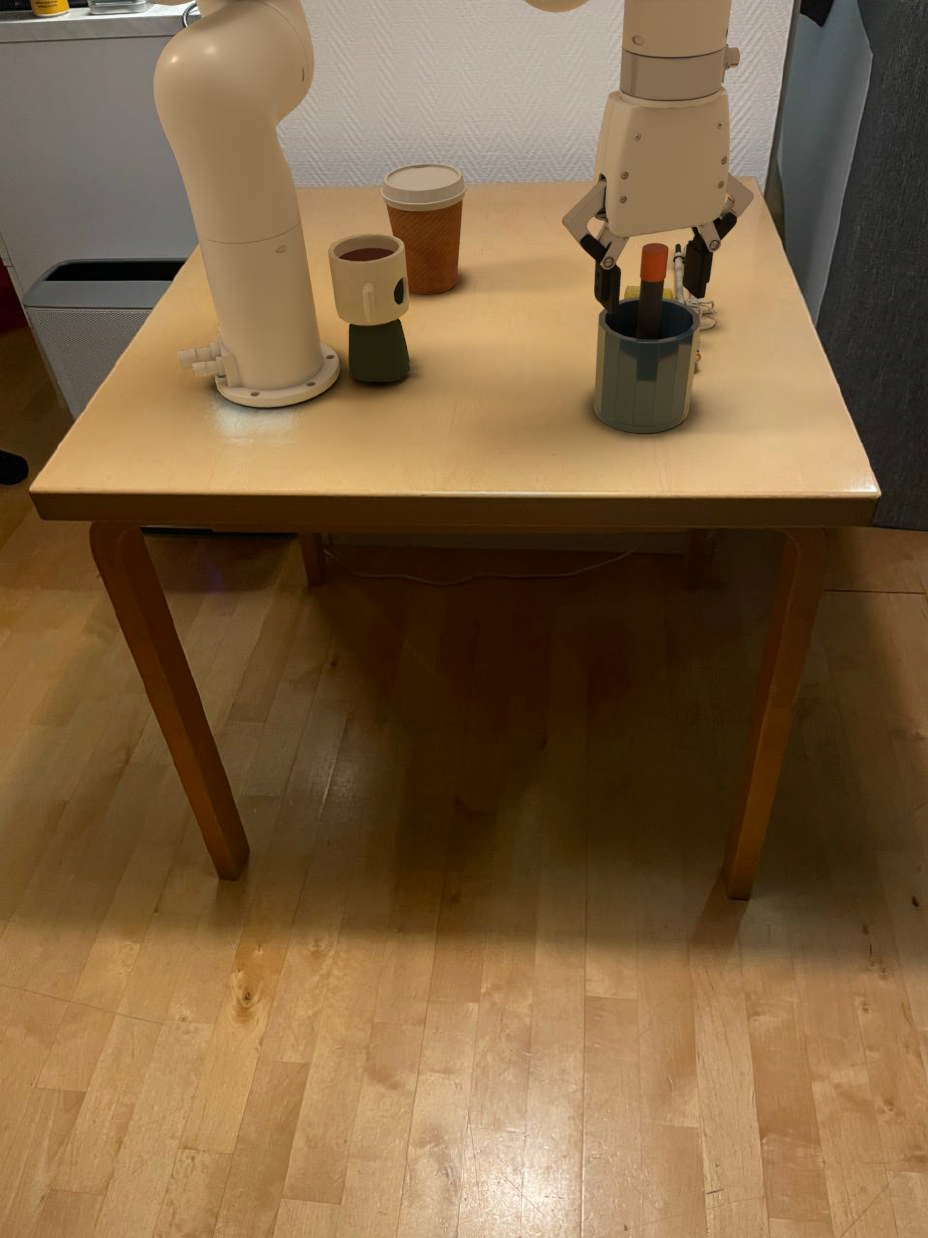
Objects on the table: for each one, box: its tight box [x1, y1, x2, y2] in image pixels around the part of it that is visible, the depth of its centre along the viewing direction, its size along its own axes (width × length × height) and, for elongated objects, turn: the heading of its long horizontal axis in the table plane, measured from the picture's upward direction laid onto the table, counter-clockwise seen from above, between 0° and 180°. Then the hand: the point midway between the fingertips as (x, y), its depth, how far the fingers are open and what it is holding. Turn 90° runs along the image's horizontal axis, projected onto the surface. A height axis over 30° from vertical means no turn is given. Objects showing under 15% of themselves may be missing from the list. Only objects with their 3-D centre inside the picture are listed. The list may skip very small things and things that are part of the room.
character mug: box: [327, 232, 411, 383], centre depth 94 cm, size 11×7×13 cm, turn 3°
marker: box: [636, 242, 670, 340], centre depth 86 cm, size 2×2×14 cm
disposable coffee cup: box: [379, 162, 468, 295], centre depth 110 cm, size 10×10×12 cm
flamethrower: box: [623, 243, 719, 363], centre depth 105 cm, size 29×3×10 cm
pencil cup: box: [593, 297, 701, 434], centre depth 89 cm, size 9×9×9 cm
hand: (650, 298), depth 84 cm, fingers open, 7 cm apart
